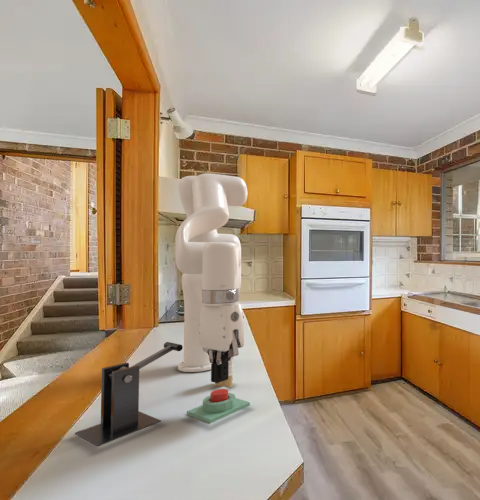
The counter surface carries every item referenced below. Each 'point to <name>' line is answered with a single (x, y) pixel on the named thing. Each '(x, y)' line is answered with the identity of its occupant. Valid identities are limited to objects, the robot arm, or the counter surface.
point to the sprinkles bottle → (228, 382)
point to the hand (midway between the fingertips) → (219, 380)
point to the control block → (217, 408)
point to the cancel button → (219, 395)
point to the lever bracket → (118, 406)
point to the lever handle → (155, 356)
